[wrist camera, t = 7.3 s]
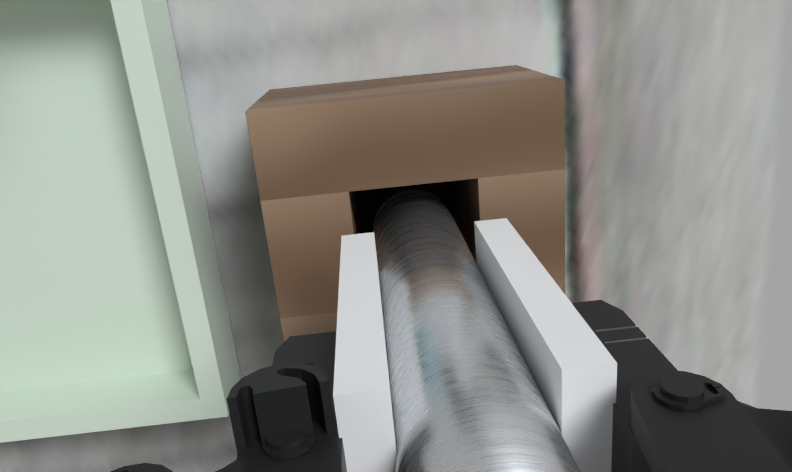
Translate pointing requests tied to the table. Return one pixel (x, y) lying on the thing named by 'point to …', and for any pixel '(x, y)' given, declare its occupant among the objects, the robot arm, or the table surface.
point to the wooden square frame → (403, 168)
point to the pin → (454, 354)
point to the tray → (103, 227)
